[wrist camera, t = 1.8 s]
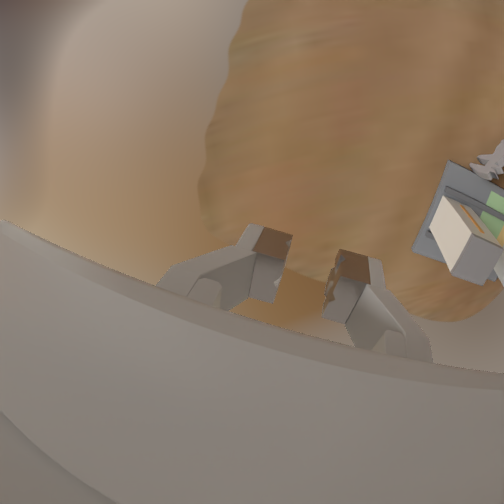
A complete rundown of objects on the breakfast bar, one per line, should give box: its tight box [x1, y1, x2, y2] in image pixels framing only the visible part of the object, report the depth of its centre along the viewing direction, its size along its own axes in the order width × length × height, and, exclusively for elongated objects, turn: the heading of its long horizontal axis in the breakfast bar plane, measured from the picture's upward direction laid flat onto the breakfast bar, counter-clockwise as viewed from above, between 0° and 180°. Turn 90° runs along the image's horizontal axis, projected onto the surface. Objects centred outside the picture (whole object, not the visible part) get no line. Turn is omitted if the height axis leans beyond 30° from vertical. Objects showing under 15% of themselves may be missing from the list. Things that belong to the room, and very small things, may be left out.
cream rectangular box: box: [429, 195, 504, 286], centre depth 26 cm, size 5×5×11 cm
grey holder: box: [411, 160, 504, 286], centre depth 27 cm, size 14×18×9 cm
